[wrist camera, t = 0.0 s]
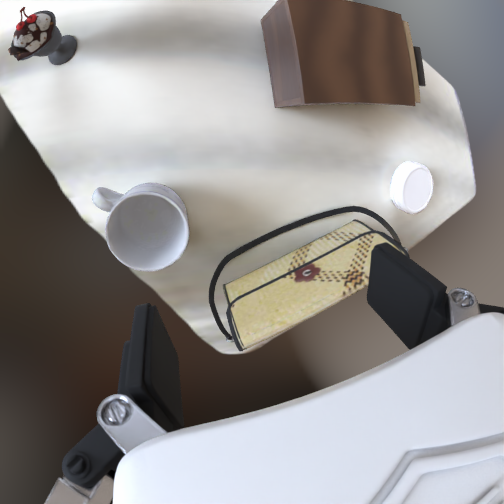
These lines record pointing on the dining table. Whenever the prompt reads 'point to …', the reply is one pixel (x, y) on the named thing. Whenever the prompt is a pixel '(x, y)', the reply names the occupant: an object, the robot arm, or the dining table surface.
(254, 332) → the clutch purse
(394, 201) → the white round disc
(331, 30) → the cabinet
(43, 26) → the sundae
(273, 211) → the dining table surface
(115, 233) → the teacup
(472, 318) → the robot arm
